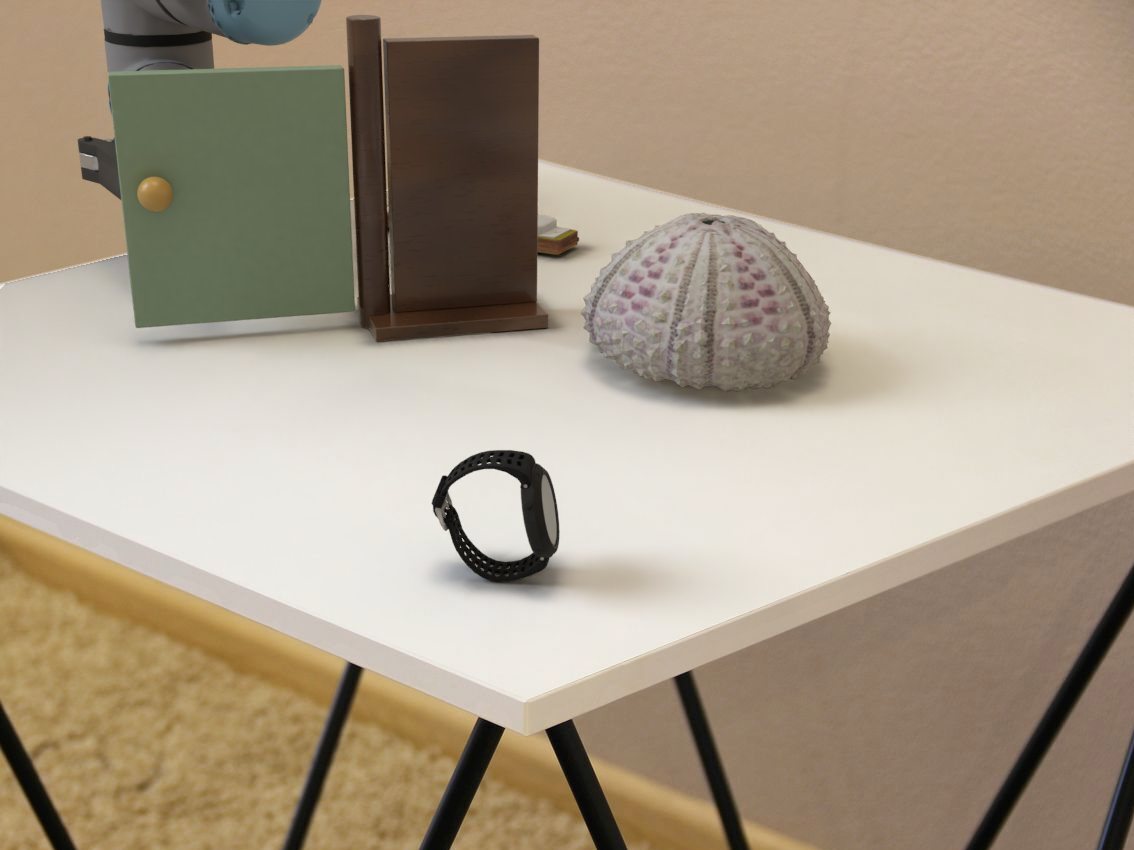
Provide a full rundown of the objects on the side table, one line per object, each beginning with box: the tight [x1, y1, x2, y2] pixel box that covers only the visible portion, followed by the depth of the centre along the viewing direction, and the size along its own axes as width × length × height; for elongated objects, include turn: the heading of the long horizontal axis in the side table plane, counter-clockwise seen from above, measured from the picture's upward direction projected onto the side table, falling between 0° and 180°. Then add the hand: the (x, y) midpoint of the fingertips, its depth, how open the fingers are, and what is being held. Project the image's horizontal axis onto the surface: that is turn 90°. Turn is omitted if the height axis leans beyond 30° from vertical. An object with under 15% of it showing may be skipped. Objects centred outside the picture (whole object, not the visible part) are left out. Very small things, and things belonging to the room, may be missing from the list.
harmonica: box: [387, 204, 580, 255], centre depth 104 cm, size 15×3×2 cm, turn 64°
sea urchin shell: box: [580, 212, 832, 393], centre depth 81 cm, size 13×14×8 cm
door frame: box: [345, 14, 549, 342], centre depth 85 cm, size 10×6×17 cm, turn 108°
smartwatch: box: [431, 449, 560, 583], centre depth 60 cm, size 4×5×5 cm
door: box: [107, 64, 356, 329], centre depth 81 cm, size 12×3×14 cm, turn 108°
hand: (207, 218), depth 83 cm, fingers closed
